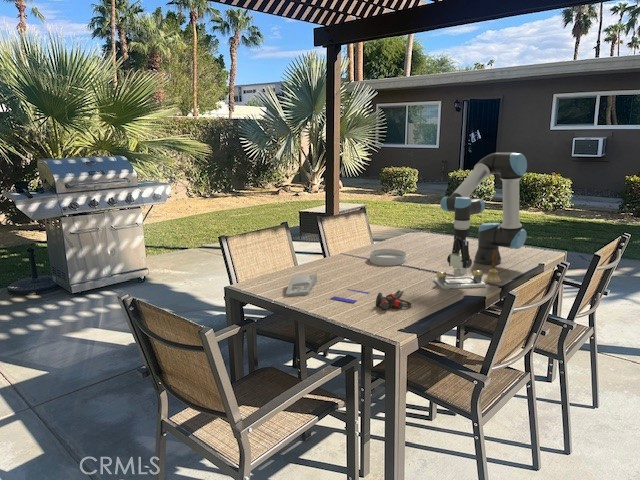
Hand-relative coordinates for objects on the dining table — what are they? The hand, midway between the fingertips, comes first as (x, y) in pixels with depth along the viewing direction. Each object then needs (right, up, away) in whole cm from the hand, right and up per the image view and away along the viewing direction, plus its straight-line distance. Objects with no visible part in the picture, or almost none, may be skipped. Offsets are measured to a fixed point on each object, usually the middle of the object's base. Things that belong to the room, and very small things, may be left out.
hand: (459, 271), depth 244 cm
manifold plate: (0, -7, +2) cm, 7 cm away
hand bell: (+19, -6, +6) cm, 21 cm away
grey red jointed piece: (-36, -14, -24) cm, 45 cm away
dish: (-30, +3, +50) cm, 58 cm away
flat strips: (-55, -11, -10) cm, 57 cm away
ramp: (-80, -10, -1) cm, 81 cm away
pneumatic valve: (0, -2, +1) cm, 3 cm away
